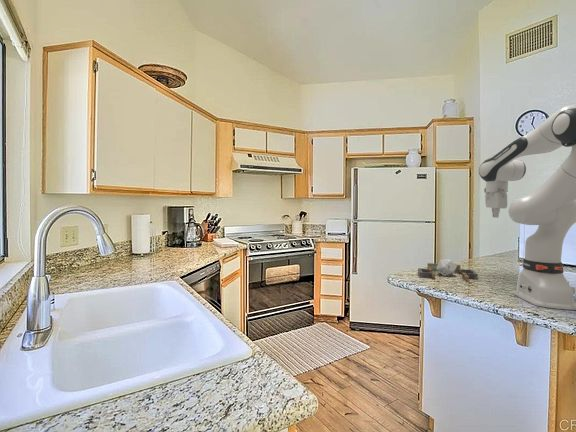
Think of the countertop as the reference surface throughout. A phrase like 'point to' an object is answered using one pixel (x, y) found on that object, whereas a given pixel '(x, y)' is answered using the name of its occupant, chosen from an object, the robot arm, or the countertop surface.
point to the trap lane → (465, 273)
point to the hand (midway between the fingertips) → (495, 217)
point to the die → (446, 267)
